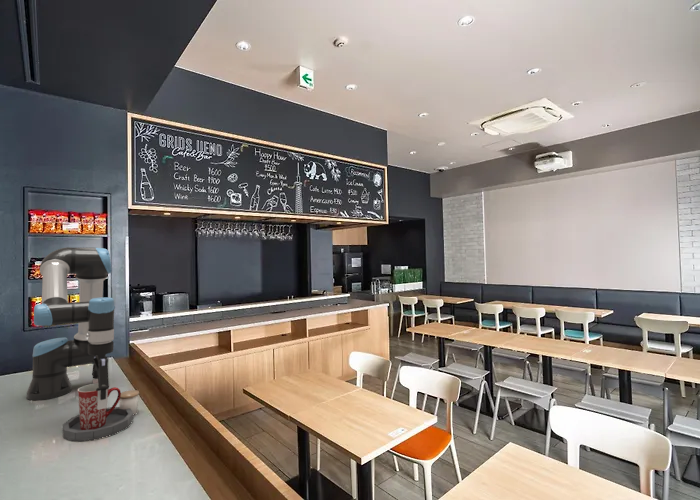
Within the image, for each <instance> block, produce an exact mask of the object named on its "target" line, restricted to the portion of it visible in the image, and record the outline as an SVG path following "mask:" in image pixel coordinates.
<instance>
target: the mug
mask: <svg viewBox="0 0 700 500" xmlns="http://www.w3.org/2000/svg"><path fill="white" fill-rule="evenodd" d="M102 386H105V385H102ZM97 388H99V386H98V383H94V384H93V383H90V384H87V385H83V386H81V387H78V388H77V395H78V396H77V397H78V410H79V412H78V413H79V414H78V415H80V429H81V430H91V429H97V428H100V427H102V426H103V425H105V423H106V418H107V417H108V415H109V414H110V413H111V412H112V411H113V409H114V408H115V407H117V405H118V404H119V403H120V397H121V393H122V392H121V389H120V388H118V387H111V388H108V398H109V396H110V395H111V393H112V392H113V391H116V392H117V397H116V400H115V402H114V403H113V405H112V406H111V408H110V410H109V411H107V412H106V410H107V408H108V407H107V408H104V409H100V410H98V409H97V406H98V391H96V389H97Z"/></svg>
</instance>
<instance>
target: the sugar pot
mask: <svg viewBox="0 0 700 500" xmlns="http://www.w3.org/2000/svg"><path fill="white" fill-rule="evenodd" d="M139 394H140V391H139V390H136V389H132V390H131V389H129V390H124V391H122V392H121V397H120V400H119V402H118V404H119V406H118V407H119V408H120V409H131V410H132V412H133V414H135V415H137V414H138V413H137V412H138V411H139V408H138V407H139V405H138V403H139V401H138V400H139ZM136 413H137V414H136Z"/></svg>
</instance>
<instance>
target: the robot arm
mask: <svg viewBox="0 0 700 500" xmlns="http://www.w3.org/2000/svg"><path fill="white" fill-rule="evenodd" d="M39 273H40V275H41V276H42V285H41V286H42V287H41V289H42V290H41V304H40V303H39V304H36V305H34V307H33V325H34V326H37V327H42V326H43V327H45V326H47V327H50V326H59V325H69V324H77V325H78V330H77V332H76V333H75V334H74V336H73V340H71V339H70V340H69V339H68V338H67V337H57V338H51V339H47V340H44V341H41V342H38V343H36V344H35V345H34V346H33V348H32V349H33V351H32V378H31V381H30V383H29V386H28V388H27V391H26V394H25V396H26V400H30V401H42V400H43V401H44V400H49V399H53V398H54V399H55V398H59V397H61V396H64V395H66V394H68V393H70V392H71V391H72V383H71V381H70V378H69V375H68V370H67V369H68V368H71V367H77V366H85V365H92V373H91V375H92V384H94V383H98V386H99V388H97V389H96V391H98V406H97V409H98V410H100V409H104V408H108V398H109V397H108V390H109V389H110V384H109V383H110V382H109V365H108V363H109V358H108V357H107V355H108V354H111V353H113V352H114V339H115V327H114V325H115V324H114V323H115V308H116V306H115V299H114V298H113V297H103V293H104V290H103V289H104V281H105V280H106V279H107V278H108V275H110V274H111V273H112V261H111V256H110V251H109V250H108V249H106V248H102V247H71V246H70V247H69V246H68V247H61V248H58V249H56V250H52V251H51V252H50V253H48V254H47V255H46V256H45V257H44V258H43V259H42V260H41V262H40V265H39ZM68 275H75V279H77V280H78V281H79V300H78V301H77V302H76V301H75V302H74V301H73V302H72V301H71V302H69V296H68V295H69V294H68ZM102 385H105V386H102Z"/></svg>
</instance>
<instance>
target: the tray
mask: <svg viewBox="0 0 700 500" xmlns="http://www.w3.org/2000/svg"><path fill="white" fill-rule="evenodd" d="M111 407H112V406H111ZM111 407H110V406H109V407H107V410H106V412H107V411H109V410H110V408H111ZM133 420H134V415H133V412H132V410H131V409H120V408H119V406H116V407H115V408H114V409H113V411H112V412H111V413H110V414H109V415H108V417H107V418H106V423H105V425H103V426H102V427H100V428H97V429H91V430H81V429H80V414H77V415H75V416H72V417H70V418H69V419H68V420H67V421H65V422H64V423H63V424H62V437H63V439H65V440H66V441H69V442H78V443H79V442H80V443H81V442H90V441H89V440H91V441H95V440H94V439H97V440H100V439H99V438H101V439H103V438H102V437H105V438H107V437H106V436H108V437H110V436H109V435H111V436H113V435H112V434H114V435H116V434H118V433H117V432H119V431H121V430H123V429H124V430H126V429H127V428H129V427H130V426H131V425H132V423H133ZM131 422H132V423H131ZM130 424H131V425H130ZM129 425H130V426H129ZM128 426H129V427H128ZM126 427H127V428H126ZM125 428H126V429H125ZM124 430H123V431H124ZM121 432H122V431H121ZM115 433H116V434H115ZM119 433H120V432H119Z"/></svg>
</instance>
